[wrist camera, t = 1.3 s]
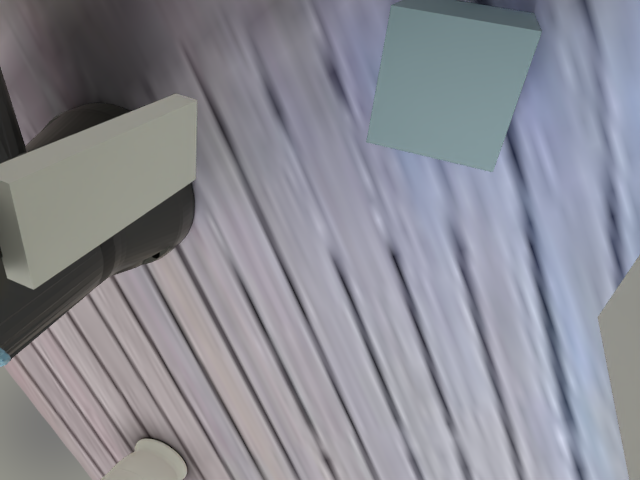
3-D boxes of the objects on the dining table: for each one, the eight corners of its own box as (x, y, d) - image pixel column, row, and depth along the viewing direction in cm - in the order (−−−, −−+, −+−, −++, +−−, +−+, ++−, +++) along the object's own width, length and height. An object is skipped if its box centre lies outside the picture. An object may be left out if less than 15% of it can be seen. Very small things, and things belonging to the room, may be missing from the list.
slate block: (393, 105, 33) (366, 142, 27) (416, -7, 29) (391, 5, 23) (495, 127, 32) (492, 172, 25) (534, 13, 28) (541, 31, 21)
